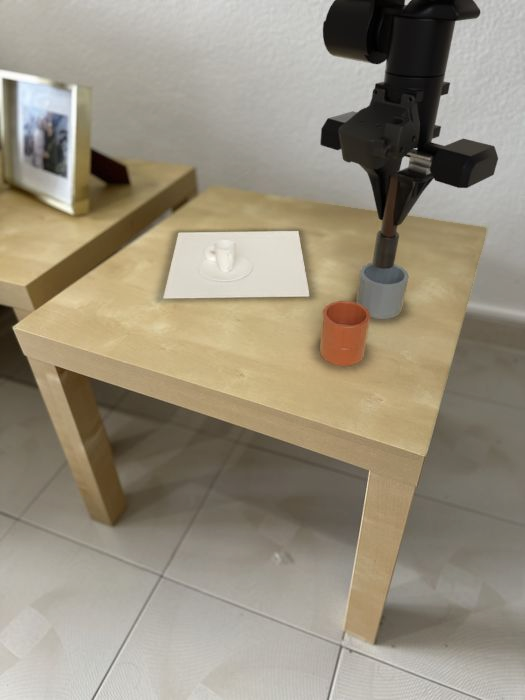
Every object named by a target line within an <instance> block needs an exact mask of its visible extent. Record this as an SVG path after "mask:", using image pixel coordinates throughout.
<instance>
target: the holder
mask: <svg viewBox="0 0 525 700" xmlns="http://www.w3.org/2000/svg"><path fill="white" fill-rule="evenodd" d="M370 322H371V317H370V313H369V311H368V310H367V309H366V308H365V307H364V306H362V305H360V304H358V303H356V301H355V302H354V301H350V300H338V301H332V302H331V303H328V304H327V305H326V306H325V307H324V308H323V310H322V317H321V327H320V328H321V329H320V330H321V331H320V344H319V354H320V355H321V357H322V359H323V360H325V361H326V362H328V363H330V364H332V365H335V366H341V367H345V366H347V367H348V366H353V365H357V364H358V363H359V362H361V361H362V360H363V358H364V356H365V351H366V345H367V344H366V343H367V339H368V334H369V329H370V328H369V327H370Z"/></svg>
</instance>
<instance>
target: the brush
mask: <svg viewBox="0 0 525 700" xmlns="http://www.w3.org/2000/svg"><path fill="white" fill-rule="evenodd" d="M399 187H400V182H399V180H398V177H397V175H396V172H394V173H391V174H390V175H389V181H388V187H387V194H386V200H385V207H384V213H383V220H381V226H380V230H378V231H377V232H376V237H375V244H374V251H373V256H372V263H373V265H374V266H376V267H378V268H382V269H388V268H392V267H393V266H394V264H395V261H396V256H397V251H398V245H399V240H400V233H399V232H398V231H397V230H398V226H395V225H394V213H395V208H396V203H397V197H398V192H399Z"/></svg>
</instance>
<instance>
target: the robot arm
mask: <svg viewBox="0 0 525 700" xmlns="http://www.w3.org/2000/svg"><path fill="white" fill-rule="evenodd" d="M480 15H481V8H480V7H479V6H478V5H477V3H476V2H475V1H474V0H410V1H409V2H407V4H406V0H334V1H332V4H331V6H329V9H328V11H327V13H326V17H325V20H324V21H323V24H322V40H323V45H324V47H325V49H326V51H327V52H328V53H329V54H330V55H331V56H332V57H336V58H341V59H345V60H350V61H356V62H362V63H367V64H372V65H380V64H383V63H385V69H384V75H383V81H380V82H376V83H375V85H374V88H373V90H372V94H371V100H370V102H369V105H368V106H366V107H364V108H361V109H360V110H358V111H348V112H345V113H342V114H338V115H335V116H331V117H328V118H327V119H326V120H325V121H324V123H323V124H322V127H321V128H320V141H319V143H320V146H322V147H325V148H328V149H330V150H331V149H332V150H335V151H341V156H342V160H343V161H344V162H346V163H349V164H350V163H355V164H358V165H359V166H360V167H361V168H362V169H363V170H364V171H365V172H366V174H367V176H368V179H369V182H370V184H371V189H372V194H373V199H374V203H375V207H376V212H377V213H376V214H377V216H378V220H380V221H382V220H383V213H384V207H385V200H386V194H387V187H388V181H389V175H390V174H391V173H394V172H396V175H397V177H398V180H399V182H400V187H399V192H398V197H397V203H396V208H395V213H394V225H395V226H397V227H398V226H400V225H402V224H403V223H404V221H405V219H406V218H407V216H408V215H409V213H410V212H411V210H412V209H413V207H414V206H415V204H416V203H417V201H418V200H419V199H420V197H421V195H422V194H423V193H424V191H425V190H426V189H427V188H428V186H429V185H430V184H431V182H432V181H433V180H434V181H435V182H438V183H441V184H445V185H448V186H451V187H453V188H457V189H468V188H470V187H472V186H474V185H477V184H478V183H480V182H483V181H484V180H486V179H488V178H491V177H492V176H494V175H495V172H496V168H497V165H498V160H499V157H498V152H497V150H496V147H495V145H491V144H487V143H483V142H479V141H476V140H471V139H467V138H461V139H459V140H456V141H453V142H450V143H448V144H446V145H443V144H439V143H435V142H433V139H436V138H439V137H440V134H441V129H442V126H441V125H437V124H436V121H437V115H438V112H439V107H440V101H441V97H442V96H446V95H448V94H449V90H450V85H451V82H448V81H445V77H446V71H447V65H448V61H449V56H450V51H451V46H452V41H453V37H454V30H455V26H456V22H458V21H459V22H460V21H467V20H474V19H478V18H479V17H480ZM404 157H406V158H409V161H408V167H405V168H403V169H401V167H402V162H403V158H404Z"/></svg>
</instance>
